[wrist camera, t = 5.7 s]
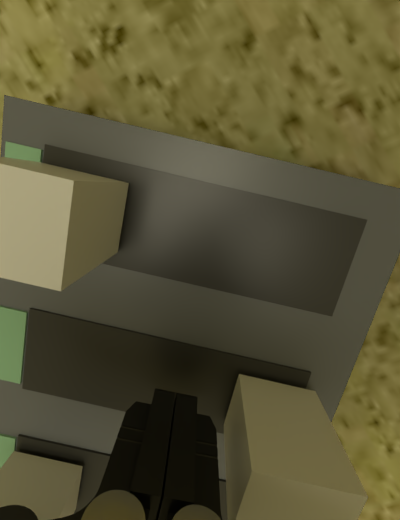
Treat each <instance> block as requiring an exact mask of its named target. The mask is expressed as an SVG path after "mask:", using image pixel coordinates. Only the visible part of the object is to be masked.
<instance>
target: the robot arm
mask: <svg viewBox="0 0 400 520" xmlns="http://www.w3.org/2000/svg"><path fill="white" fill-rule="evenodd" d="M175 394H176V397H175ZM0 520H38V518H37V516H36V514H35V513H34V512H33V511H32V510H31V509H29V508H27V507H25V506H21V505H7V506H4V507H0ZM51 520H222V516H221V507H220V488H219V469H218V449H217V430H216V428H215V426H214V423H213V421H212V419H211V417H210V416H207V415H202V414H197V397H196V396H191V395H187V394H182V393H176V392H171V391H167V390H162V389H157V388H155V391H154V395H153V399H152V403H151V404H147V403H142V402H138V401H136V402H135V403H134V404H133V405H132V406H131V407H130V408H129V409H128V410H127V411H126V413H125V415H124V418H123V421H122V424H121V428H120V430H119V433H118V436H117V439H116V441H115V444H114V447H113V450H112V453H111V456H110V458H109V461H108V464H107V467H106V470H105V473H104V476H103V478H102V481H101V484H100V487H99V489H98V492H97V493H96V495H95V496H94V498H93V499H92V500H91V501H90V502H89V503H88V504H87V505H86V506H85V507H84V508H82V509H81V510H80V511H78V512H76V513H74V514H72V515H69V516H66V517H62V518H57V519H51Z"/></svg>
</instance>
